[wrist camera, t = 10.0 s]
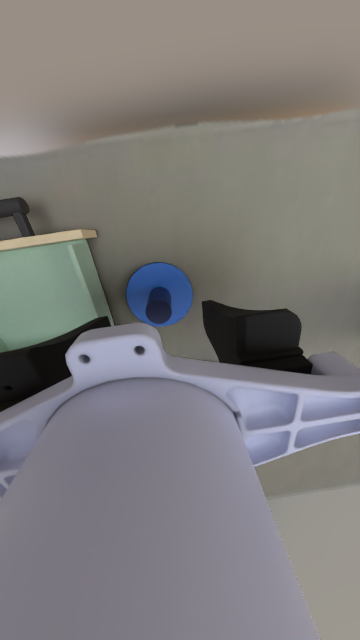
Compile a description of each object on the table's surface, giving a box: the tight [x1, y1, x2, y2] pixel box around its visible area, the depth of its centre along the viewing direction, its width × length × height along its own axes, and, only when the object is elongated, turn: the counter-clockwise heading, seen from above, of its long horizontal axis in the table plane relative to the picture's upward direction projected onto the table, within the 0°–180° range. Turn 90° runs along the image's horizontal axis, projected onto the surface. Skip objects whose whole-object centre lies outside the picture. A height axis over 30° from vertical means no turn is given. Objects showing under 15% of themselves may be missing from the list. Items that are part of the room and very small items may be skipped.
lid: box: [126, 262, 193, 326], centre depth 17 cm, size 7×7×5 cm
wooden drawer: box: [0, 197, 115, 353], centre depth 16 cm, size 14×14×3 cm
